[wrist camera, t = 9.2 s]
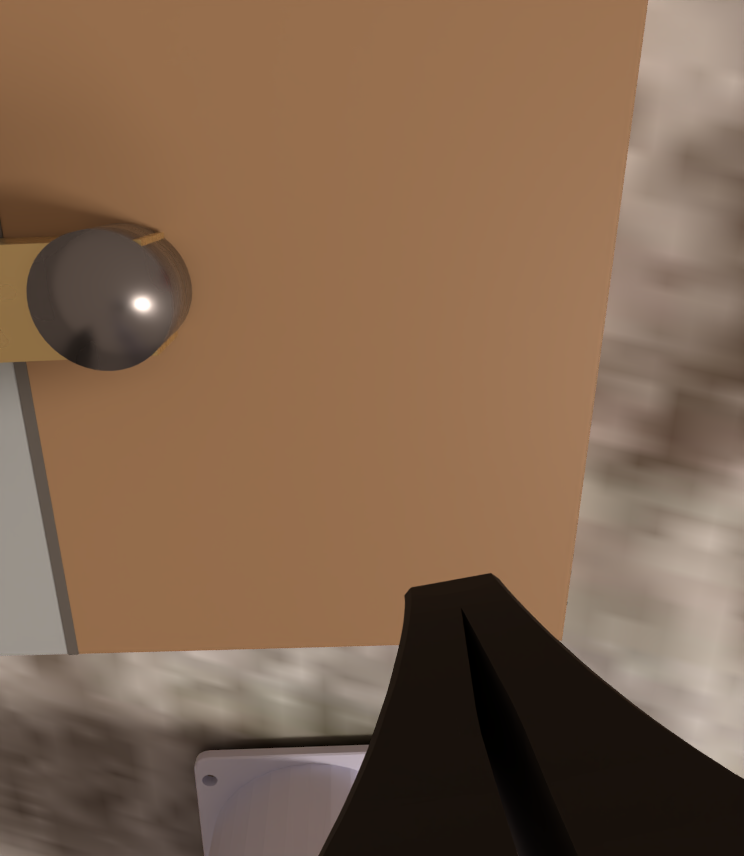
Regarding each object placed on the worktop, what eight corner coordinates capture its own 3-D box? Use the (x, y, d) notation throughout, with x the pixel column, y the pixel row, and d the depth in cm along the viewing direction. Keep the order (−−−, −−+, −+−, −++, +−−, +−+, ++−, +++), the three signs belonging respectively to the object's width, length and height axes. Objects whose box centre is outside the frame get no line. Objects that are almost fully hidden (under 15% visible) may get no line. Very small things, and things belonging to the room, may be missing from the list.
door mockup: (550, 616, 22) (562, 641, 21) (-342, 639, 20) (-383, 667, 19) (657, -243, 14) (686, -280, 13) (-772, -307, 13) (-883, -355, 12)
